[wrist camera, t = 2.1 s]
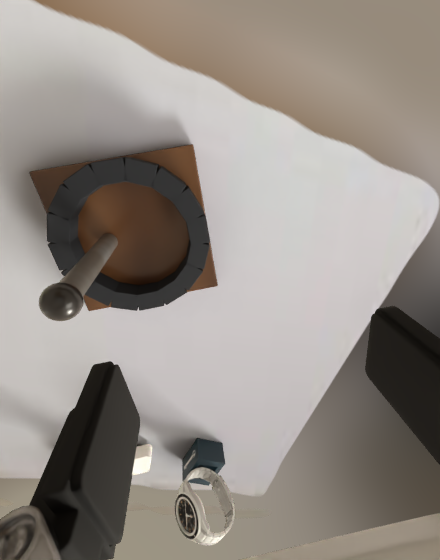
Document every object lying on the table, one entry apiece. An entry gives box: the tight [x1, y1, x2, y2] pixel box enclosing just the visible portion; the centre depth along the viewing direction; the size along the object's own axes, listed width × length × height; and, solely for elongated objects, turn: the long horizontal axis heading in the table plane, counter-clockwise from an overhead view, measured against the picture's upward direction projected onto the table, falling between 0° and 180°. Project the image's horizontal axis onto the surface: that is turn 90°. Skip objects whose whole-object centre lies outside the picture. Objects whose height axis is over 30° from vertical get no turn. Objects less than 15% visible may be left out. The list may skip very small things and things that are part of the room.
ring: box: [47, 157, 210, 311], centre depth 25 cm, size 14×14×2 cm
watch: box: [175, 438, 235, 545], centre depth 38 cm, size 6×8×11 cm
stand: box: [29, 145, 218, 321], centre depth 21 cm, size 14×14×14 cm
